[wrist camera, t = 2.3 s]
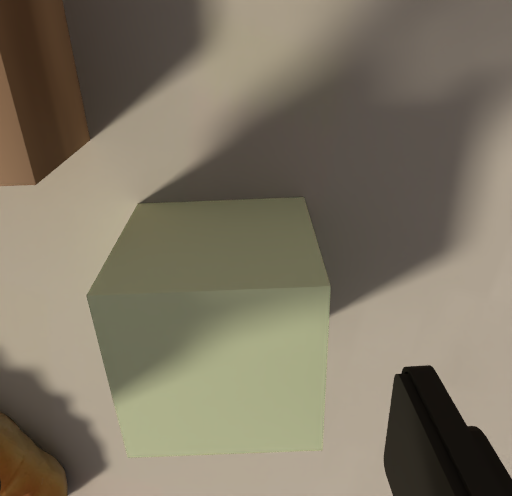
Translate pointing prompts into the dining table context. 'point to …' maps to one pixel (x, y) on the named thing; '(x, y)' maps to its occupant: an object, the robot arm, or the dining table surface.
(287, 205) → the green cube
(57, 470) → the pastry
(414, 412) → the robot arm
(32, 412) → the dining table surface
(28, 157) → the walnut block
